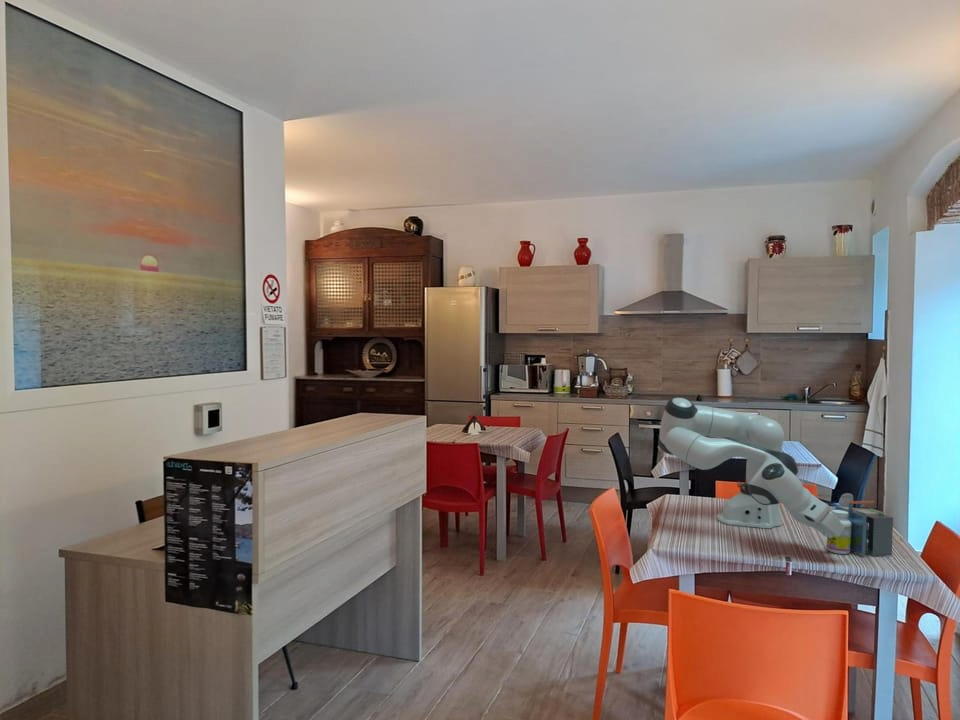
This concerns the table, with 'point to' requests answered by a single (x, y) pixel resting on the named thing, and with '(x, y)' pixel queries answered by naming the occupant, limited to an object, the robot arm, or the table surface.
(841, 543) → the supplement bottle
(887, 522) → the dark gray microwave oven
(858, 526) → the gauge plunger
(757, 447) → the robot arm
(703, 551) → the table surface
